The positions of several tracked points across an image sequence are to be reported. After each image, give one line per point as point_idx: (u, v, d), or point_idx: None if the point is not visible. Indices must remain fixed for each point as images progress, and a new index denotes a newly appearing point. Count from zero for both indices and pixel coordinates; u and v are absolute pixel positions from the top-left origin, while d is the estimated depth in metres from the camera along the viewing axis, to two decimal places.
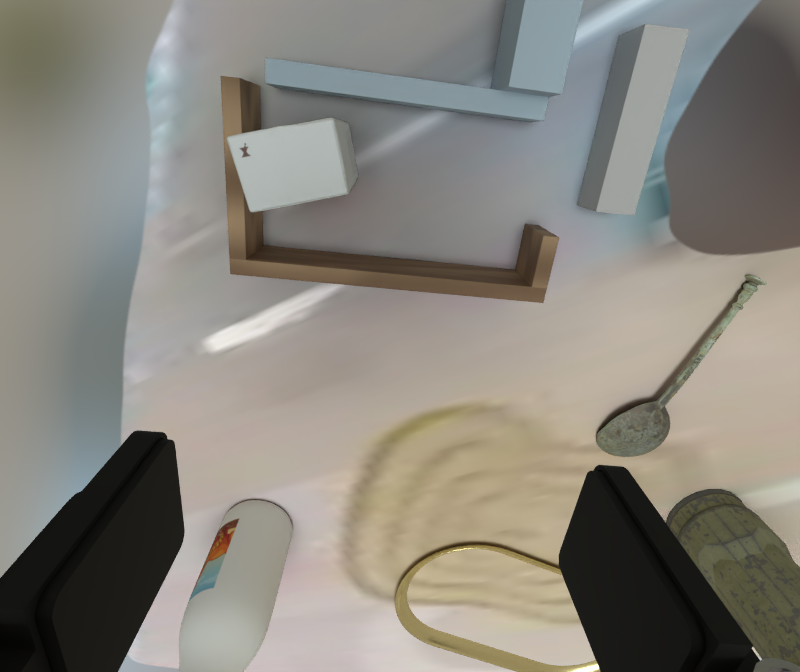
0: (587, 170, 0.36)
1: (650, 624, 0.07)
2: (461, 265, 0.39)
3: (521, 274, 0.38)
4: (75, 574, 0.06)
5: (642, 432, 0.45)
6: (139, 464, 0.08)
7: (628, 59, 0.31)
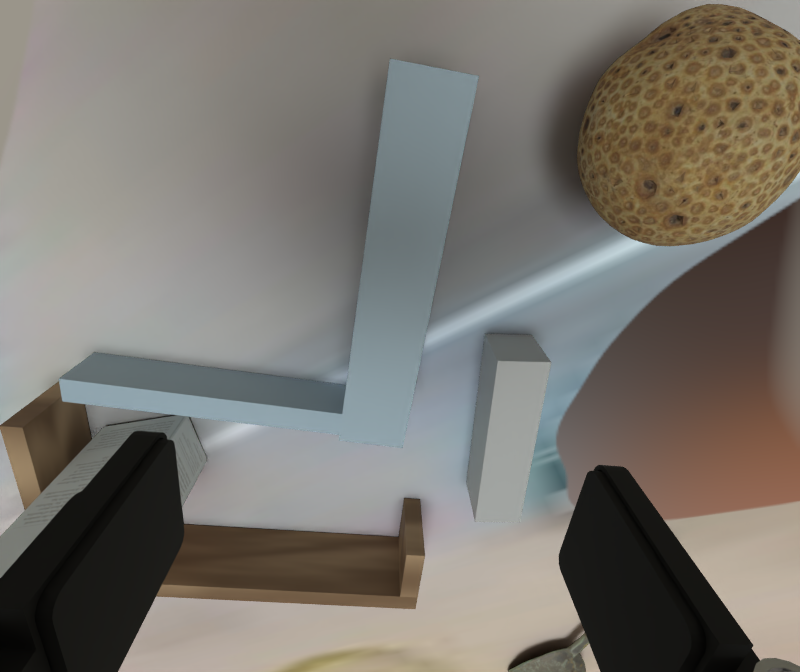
0: (470, 455, 0.32)
1: (650, 624, 0.07)
2: (335, 536, 0.35)
3: (399, 556, 0.34)
4: (75, 574, 0.06)
5: None
6: (139, 464, 0.08)
7: (489, 379, 0.27)
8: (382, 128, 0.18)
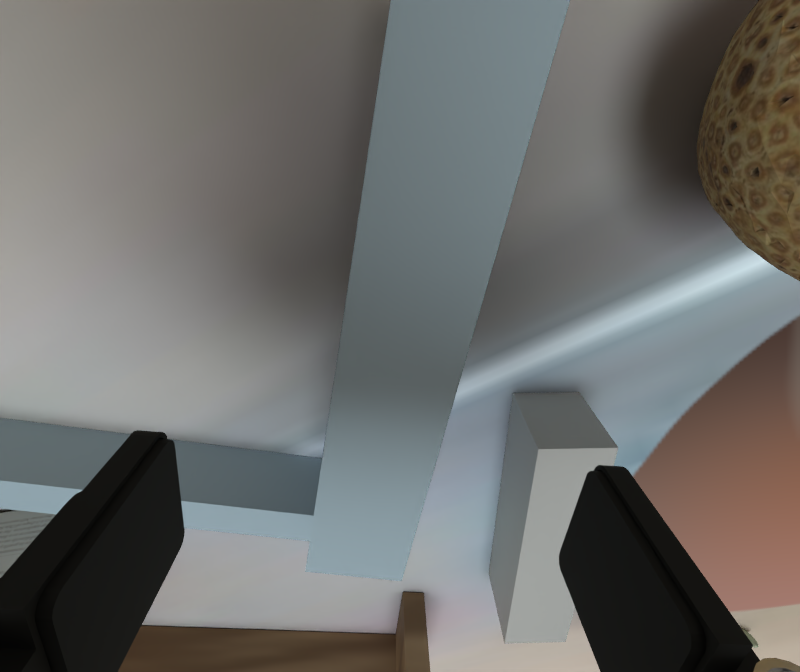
0: (494, 543, 0.24)
1: (650, 624, 0.07)
2: (314, 637, 0.27)
3: (396, 668, 0.26)
4: (75, 574, 0.06)
5: None
6: (139, 464, 0.08)
7: (523, 465, 0.19)
8: (382, 82, 0.10)
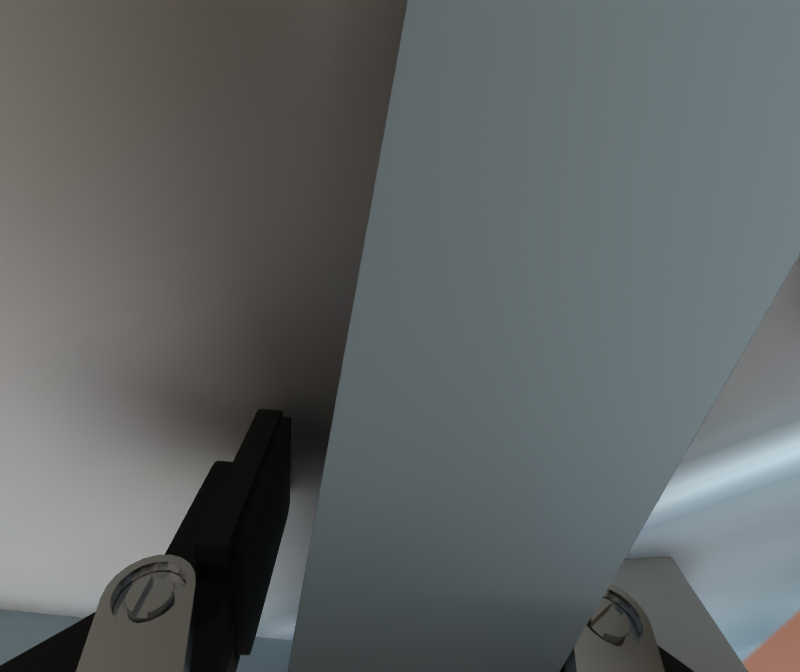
0: None
1: None
2: None
3: None
4: (252, 522, 0.08)
5: None
6: (273, 436, 0.10)
7: None
8: (396, 123, 0.03)
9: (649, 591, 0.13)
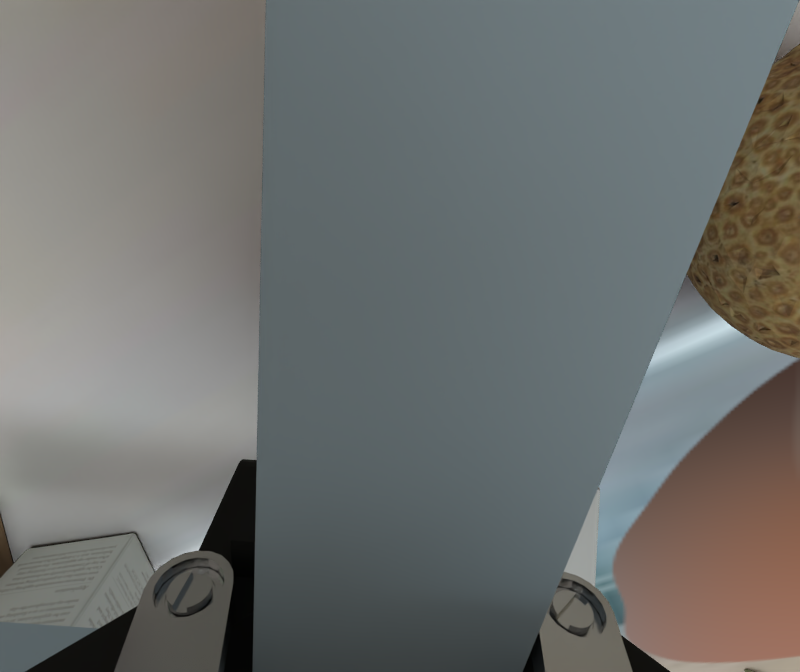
0: None
1: None
2: None
3: None
4: None
5: None
6: None
7: None
8: (274, 124, 0.03)
9: None
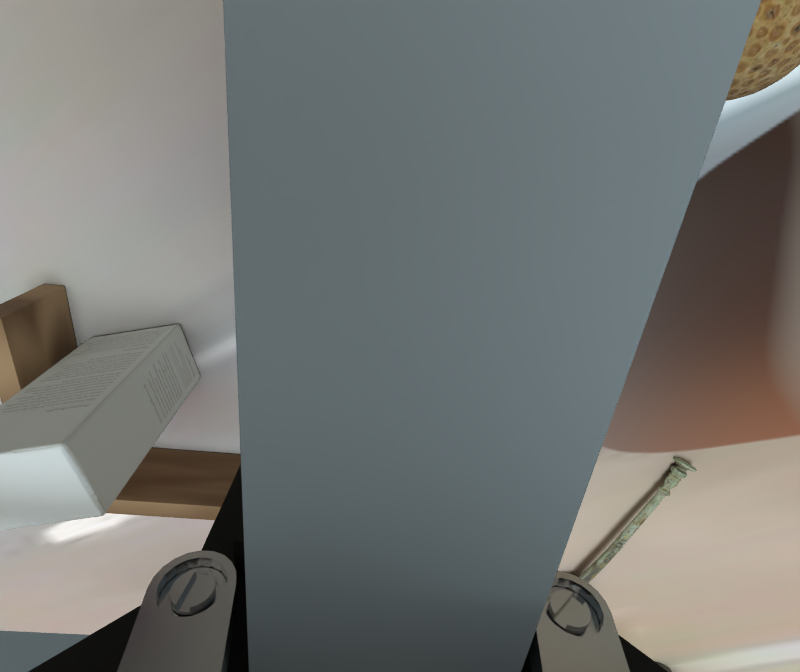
0: None
1: None
2: None
3: None
4: None
5: None
6: None
7: None
8: (239, 131, 0.03)
9: None
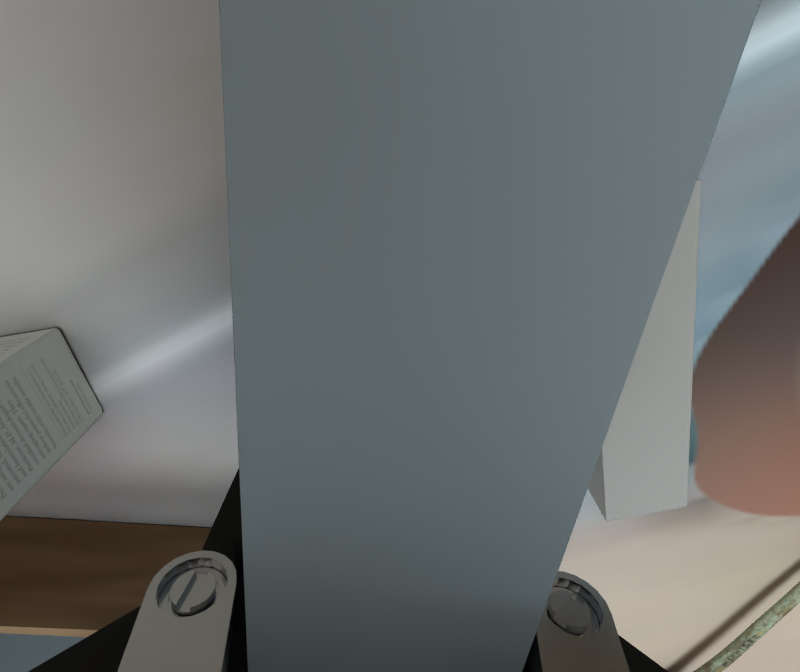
0: None
1: None
2: None
3: None
4: None
5: None
6: None
7: None
8: (236, 140, 0.03)
9: None
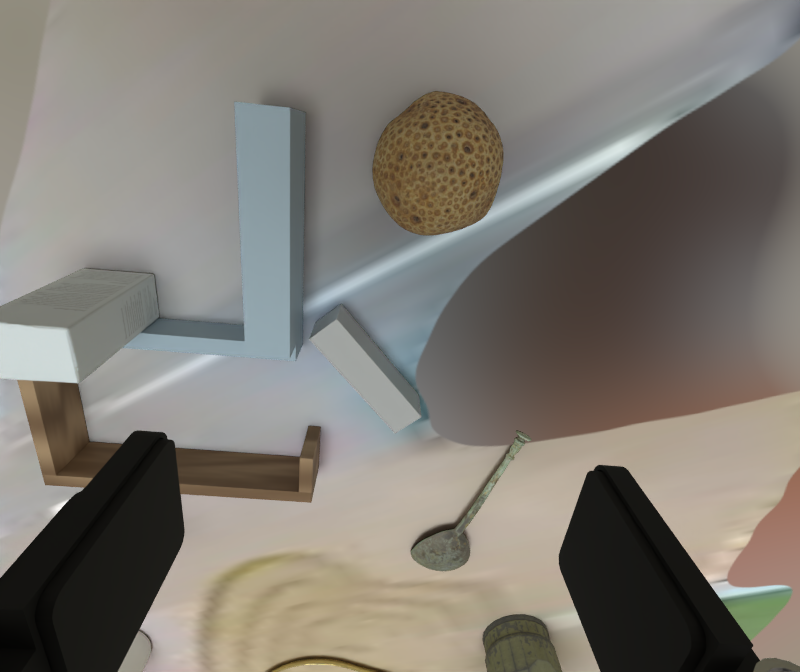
0: None
1: (650, 624, 0.07)
2: (259, 456, 0.47)
3: None
4: (75, 574, 0.06)
5: (442, 555, 0.51)
6: (139, 464, 0.08)
7: None
8: (237, 143, 0.30)
9: (329, 315, 0.40)
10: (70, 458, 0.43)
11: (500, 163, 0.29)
